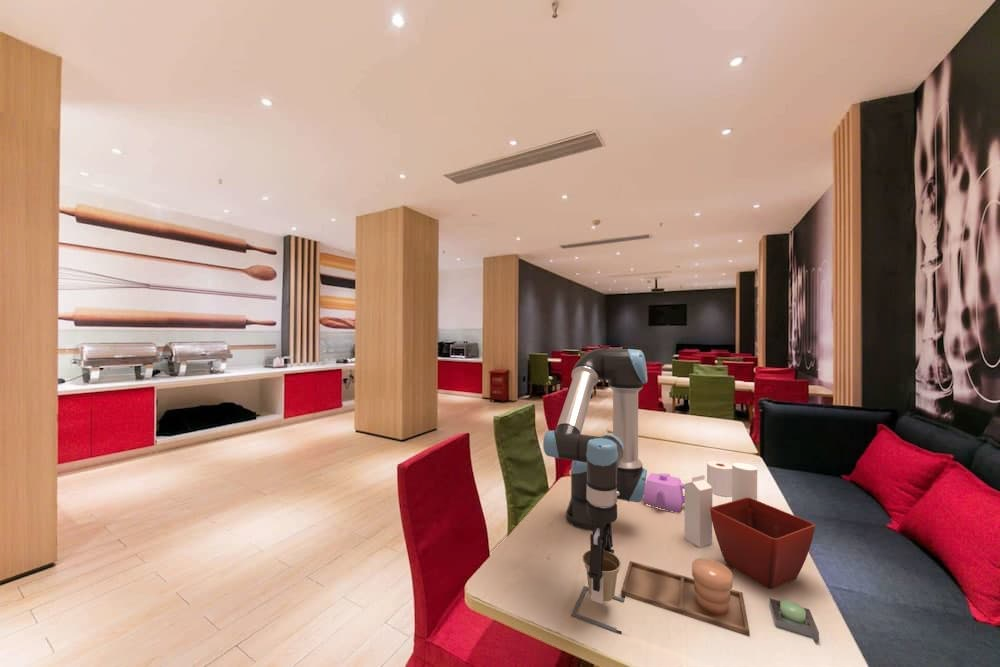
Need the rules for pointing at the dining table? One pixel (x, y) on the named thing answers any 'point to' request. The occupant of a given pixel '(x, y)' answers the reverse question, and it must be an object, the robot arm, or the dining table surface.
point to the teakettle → (664, 492)
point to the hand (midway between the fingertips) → (601, 589)
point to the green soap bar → (792, 611)
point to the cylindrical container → (744, 481)
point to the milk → (698, 512)
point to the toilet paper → (720, 478)
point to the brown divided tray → (680, 596)
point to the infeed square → (574, 614)
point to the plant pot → (762, 540)
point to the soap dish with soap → (792, 626)
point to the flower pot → (605, 573)
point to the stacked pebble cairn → (712, 585)
